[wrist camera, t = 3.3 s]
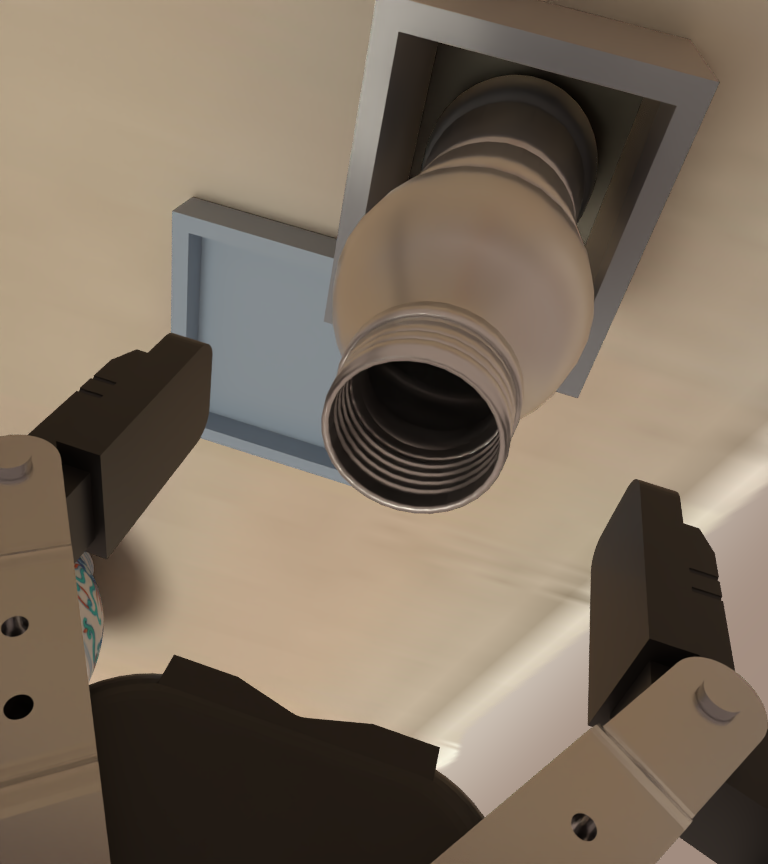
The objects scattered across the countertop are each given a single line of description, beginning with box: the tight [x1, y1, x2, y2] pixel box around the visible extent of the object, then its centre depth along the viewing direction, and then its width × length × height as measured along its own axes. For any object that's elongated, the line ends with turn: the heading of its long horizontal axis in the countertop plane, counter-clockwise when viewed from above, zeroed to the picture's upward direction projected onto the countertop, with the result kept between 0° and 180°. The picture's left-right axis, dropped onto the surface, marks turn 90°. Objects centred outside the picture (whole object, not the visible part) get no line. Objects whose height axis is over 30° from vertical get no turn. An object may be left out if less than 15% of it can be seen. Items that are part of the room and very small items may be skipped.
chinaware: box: [74, 552, 104, 683], centre depth 50 cm, size 15×15×8 cm
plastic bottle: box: [321, 75, 598, 514], centre depth 21 cm, size 6×7×20 cm
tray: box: [171, 197, 351, 486], centre depth 36 cm, size 13×12×2 cm
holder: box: [324, 0, 720, 398], centre depth 26 cm, size 11×10×8 cm
